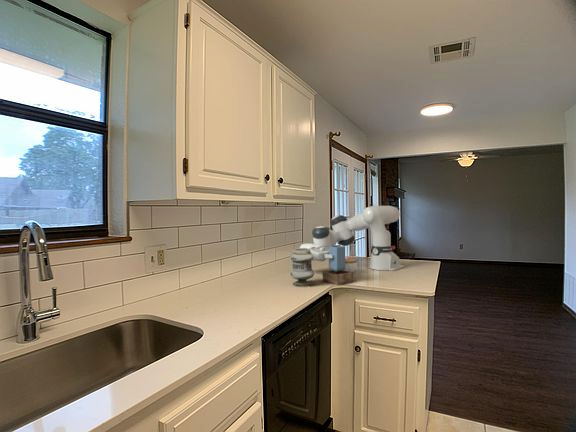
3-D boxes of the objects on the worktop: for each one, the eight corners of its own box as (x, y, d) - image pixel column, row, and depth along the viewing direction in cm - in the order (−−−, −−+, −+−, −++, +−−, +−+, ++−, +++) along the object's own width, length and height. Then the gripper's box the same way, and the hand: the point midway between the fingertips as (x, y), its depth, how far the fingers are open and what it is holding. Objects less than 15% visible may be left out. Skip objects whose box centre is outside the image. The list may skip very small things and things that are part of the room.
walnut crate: (337, 278, 179) (337, 269, 178) (352, 281, 170) (352, 272, 170) (322, 281, 172) (322, 271, 172) (337, 285, 163) (337, 275, 163)
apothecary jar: (286, 285, 163) (285, 249, 163) (296, 280, 174) (296, 247, 174) (308, 288, 158) (308, 251, 157) (318, 283, 168) (317, 248, 168)
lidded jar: (358, 274, 187) (358, 258, 187) (339, 275, 187) (339, 258, 187) (355, 271, 198) (355, 255, 197) (337, 271, 198) (337, 255, 198)
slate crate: (337, 267, 175) (337, 245, 174) (345, 269, 170) (345, 246, 170) (329, 269, 171) (328, 246, 171) (337, 271, 167) (336, 247, 166)
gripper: (334, 256, 187) (352, 259, 176) (306, 260, 175) (323, 264, 164) (334, 245, 187) (352, 248, 176) (306, 248, 175) (323, 251, 164)
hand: (338, 255), depth 170 cm, fingers closed on slate crate, 6 cm apart
